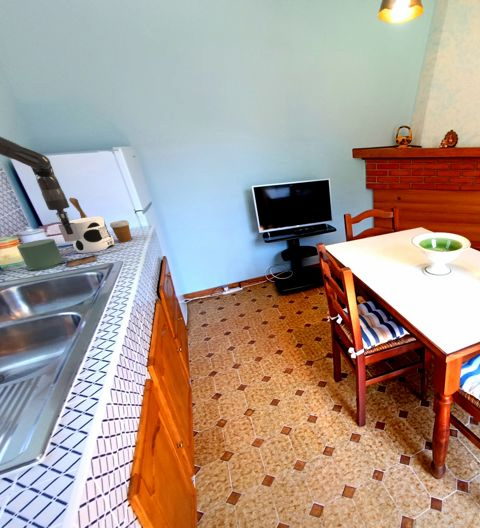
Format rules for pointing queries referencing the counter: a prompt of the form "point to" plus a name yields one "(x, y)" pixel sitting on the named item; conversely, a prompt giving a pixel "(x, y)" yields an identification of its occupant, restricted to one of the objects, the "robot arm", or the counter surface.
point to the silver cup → (71, 237)
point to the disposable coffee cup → (121, 230)
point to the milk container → (92, 235)
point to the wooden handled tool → (77, 207)
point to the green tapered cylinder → (40, 254)
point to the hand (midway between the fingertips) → (70, 233)
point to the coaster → (81, 261)
